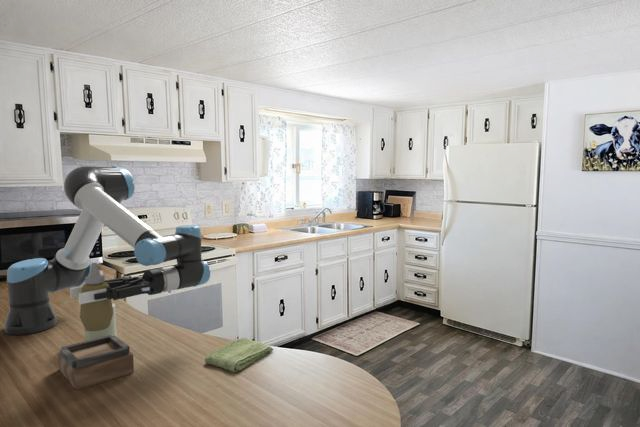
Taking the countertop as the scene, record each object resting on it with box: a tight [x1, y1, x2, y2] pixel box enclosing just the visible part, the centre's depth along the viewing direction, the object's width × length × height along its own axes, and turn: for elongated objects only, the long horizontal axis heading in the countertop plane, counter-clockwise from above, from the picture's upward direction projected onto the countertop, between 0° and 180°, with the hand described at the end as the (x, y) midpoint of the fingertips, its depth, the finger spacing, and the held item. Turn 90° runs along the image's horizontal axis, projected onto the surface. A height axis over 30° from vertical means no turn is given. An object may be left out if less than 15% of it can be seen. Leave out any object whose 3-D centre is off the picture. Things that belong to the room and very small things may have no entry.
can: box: [84, 302, 118, 341], centre depth 136 cm, size 9×9×12 cm
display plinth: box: [57, 335, 135, 391], centre depth 116 cm, size 16×14×6 cm
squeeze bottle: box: [79, 262, 113, 331], centre depth 115 cm, size 8×8×18 cm
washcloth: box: [204, 337, 274, 373], centre depth 125 cm, size 13×18×3 cm
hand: (75, 296), depth 111 cm, fingers closed on squeeze bottle, 6 cm apart
